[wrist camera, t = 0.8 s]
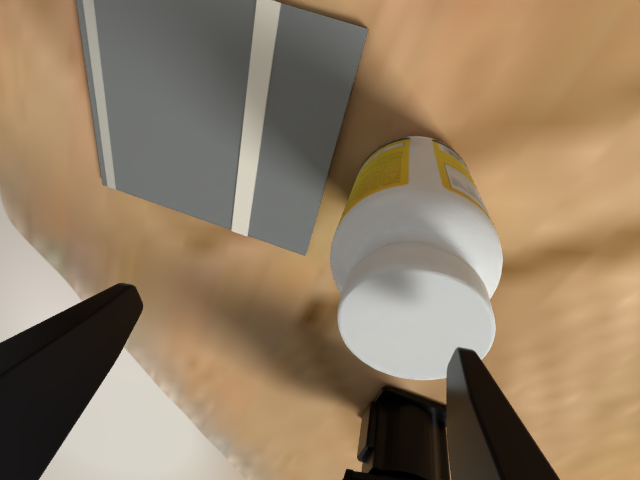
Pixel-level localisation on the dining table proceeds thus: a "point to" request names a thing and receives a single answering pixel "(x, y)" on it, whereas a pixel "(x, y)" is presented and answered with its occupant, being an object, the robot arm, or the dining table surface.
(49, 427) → the robot arm
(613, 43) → the dining table surface
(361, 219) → the pill bottle
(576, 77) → the dining table surface
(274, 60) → the mat
